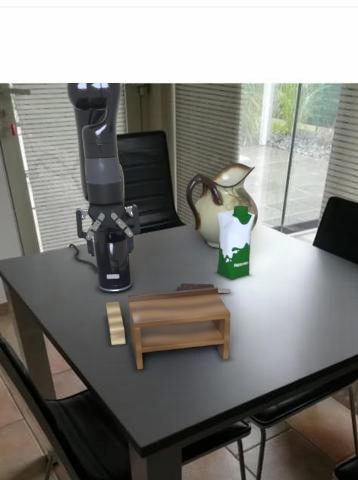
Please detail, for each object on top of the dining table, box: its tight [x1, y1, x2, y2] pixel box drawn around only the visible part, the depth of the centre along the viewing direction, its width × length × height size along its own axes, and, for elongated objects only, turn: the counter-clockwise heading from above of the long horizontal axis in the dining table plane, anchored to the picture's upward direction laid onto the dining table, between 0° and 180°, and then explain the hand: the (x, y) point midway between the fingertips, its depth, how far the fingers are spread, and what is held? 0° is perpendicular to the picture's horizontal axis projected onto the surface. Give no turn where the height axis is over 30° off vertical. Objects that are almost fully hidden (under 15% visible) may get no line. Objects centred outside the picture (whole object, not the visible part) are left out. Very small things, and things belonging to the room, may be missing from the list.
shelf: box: [127, 286, 231, 370], centre depth 104 cm, size 11×20×12 cm, turn 101°
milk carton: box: [216, 206, 255, 281], centre depth 141 cm, size 9×9×20 cm
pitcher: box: [185, 162, 259, 249], centre depth 164 cm, size 22×24×25 cm
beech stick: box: [105, 301, 126, 346], centre depth 116 cm, size 15×3×4 cm, turn 11°
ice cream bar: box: [176, 283, 232, 294], centre depth 135 cm, size 5×2×15 cm
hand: (111, 253), depth 112 cm, fingers open, 8 cm apart
